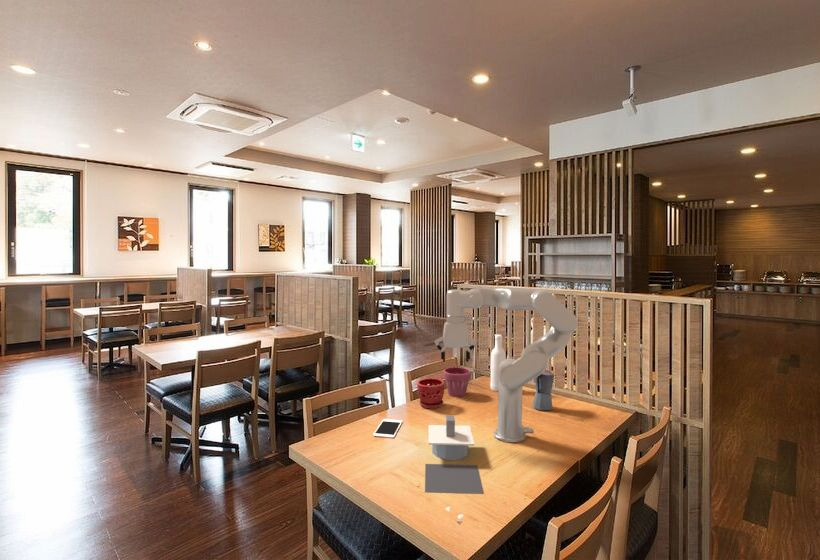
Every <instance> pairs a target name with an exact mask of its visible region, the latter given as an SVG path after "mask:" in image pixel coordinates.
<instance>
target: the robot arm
mask: <svg viewBox="0 0 820 560" xmlns="http://www.w3.org/2000/svg"><path fill="white" fill-rule="evenodd" d="M481 307H496V308H501V309H504V310H506V311H530V312H531V311H533V312H534V311H535V312H537V313H538V315H540V316H541V318H543V319H544V320H545V321H546V322H547V323H548V324H550V325H551V326H550V328H549V330H548V331H547V332H546V333H545V334H544V335H542V336H541V337H540V338H539V339H537V340H536V341H534V342H532V343H530V344H529V345H527V346H526V347H524V348H523V350H522V351H521V353H520V357H518V358H517V359H514V358H505V360H504V361H502V362H501V364H500V366H499V369H498V391H497V392H498V396H497V399H498V400H497V428H495V430H493V436H494V438H496V439H497V440H500V441H502V442H505V443H506V442H507V443H520V442H523V441H524V440H525V439H526V434H531V435H532V434H534V433H535V432H534V431H535V430H534V428H530V427H529V426H523V423H522V422H523V387H524V386H526V385H527V384H528V383H530V382H532V381H533V380H535V378H536V377H538V376H539V375H541V374H542V373H543V372H544V371H545V370H547V368H548V366H549V360H550V359H552V358H554V356H556V355H557V354H558V353H560V352H561V351H562V350H563V349H565V348H566V347H567V345H568V344H569V342H570V341H571V338H572V335H573V333H575V331H576V330H577V328H578V325H579V322H578V319H577V317H576V315H575V314H574V313H572V312H571V311H570V310H569V309H568V308H567V307H566V306H565V305H563V304H562V302H560V301H559V300H558V299H557V298H556V297H555V296H554V295H553V294H552V293H550V291H548V290H547V289H541V288H540V289H539V288H537V289H535V288H481V287H477V288H471V289H469V290H463V289H449V290H447V292H446V321H445V322H444V324H443V331H442V336H441V337H439V338H437V339H435V340H434V341H433V342H434V344H435V346H436V348H437V349H438V350H439V351H440V360H442V362H444V363H445V361H446V357H445V356H446V352H445V351H446V349H447V348H453V349H455V348H457V349H459V348H464V349H465V350H466V351H465V361H466V362H467V363H468V362H469V360H470V359H471V352H472V350H473V349H474V348H475V347H476V344H477V343H478V341H477V340H476V339H474V338H471V337H470V336H469V333H468V324H467V322H466V321H469V317H468V316H466V308H467V309H472V310H474V309H480V308H481ZM441 342H442V346H441V345H440V344H439V343H441ZM469 342H471V343H472V344H470V346H469Z"/></svg>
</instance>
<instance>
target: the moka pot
mask: <svg viewBox="0 0 820 560" xmlns="http://www.w3.org/2000/svg"><path fill="white" fill-rule="evenodd" d="M554 380H555V372H553V371H551V370H547V369H546V370H545V371H544V372H543V373H542V374H541V375H539V376H538V377H536V378H535V379H534V381H535V395H534V400H533V405H532V406H533V408H534V409H536V410H540V411H548V412H549V411H552V410H553V401H552V400H553V398H552V397H553V396H552V390H553V385H554Z"/></svg>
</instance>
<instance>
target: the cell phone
mask: <svg viewBox="0 0 820 560" xmlns="http://www.w3.org/2000/svg"><path fill="white" fill-rule="evenodd" d="M403 421H404V420H400V419H390V418H383V419H382V420H381V422H380V424H378V426H377V428H376V429H375V431H374V432H373V434H372V437H373V436H376V437H375V438H382V437H386V438H385V439H395V437H396V435H397V433H398V432H397V431H399V430H400V428H401V426H402V424H403ZM398 429H399V430H398Z"/></svg>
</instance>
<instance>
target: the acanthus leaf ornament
mask: <svg viewBox="0 0 820 560" xmlns="http://www.w3.org/2000/svg"><path fill="white" fill-rule="evenodd" d="M445 510H446V511H447V512H450V510H451V506H448V507H445ZM463 517H464V513H463V514H459V515H457V518H458V519H460V520H462V519H463ZM456 523H457V524H458V525H459V526H461V524H462V523H463V521H459V520H457V521H456Z"/></svg>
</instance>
